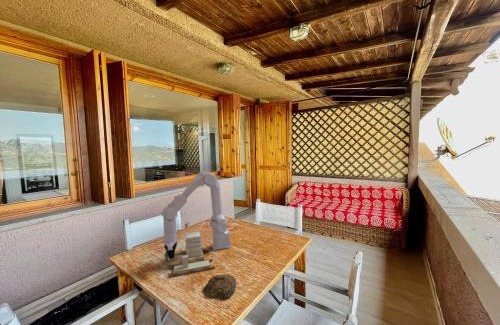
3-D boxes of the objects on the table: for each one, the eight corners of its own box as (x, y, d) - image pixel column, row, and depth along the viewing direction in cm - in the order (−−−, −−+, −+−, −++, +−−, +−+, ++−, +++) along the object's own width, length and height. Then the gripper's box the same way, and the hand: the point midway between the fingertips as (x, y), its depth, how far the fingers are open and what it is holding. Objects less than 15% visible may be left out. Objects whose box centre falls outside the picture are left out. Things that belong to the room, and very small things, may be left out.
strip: (208, 262, 107) (208, 250, 106) (210, 267, 102) (209, 254, 101) (174, 268, 102) (173, 255, 101) (174, 274, 97) (173, 261, 97)
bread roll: (239, 281, 92) (238, 269, 91) (231, 301, 79) (231, 288, 79) (210, 278, 94) (209, 267, 93) (198, 298, 82) (198, 285, 81)
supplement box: (186, 256, 114) (185, 232, 113) (200, 253, 116) (199, 230, 115) (186, 263, 107) (185, 238, 106) (202, 260, 109) (201, 235, 108)
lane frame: (209, 250, 120) (209, 248, 119) (214, 268, 101) (214, 266, 101) (170, 256, 113) (170, 254, 113) (169, 277, 95) (169, 275, 95)
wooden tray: (202, 252, 117) (201, 243, 117) (204, 261, 108) (203, 251, 107) (166, 258, 112) (165, 248, 111) (165, 268, 102) (164, 258, 102)
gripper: (162, 227, 112) (163, 252, 113) (160, 238, 99) (161, 267, 99) (176, 225, 115) (178, 250, 115) (176, 235, 101) (177, 264, 102)
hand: (171, 258), depth 108 cm, fingers closed, pressing on wooden tray
